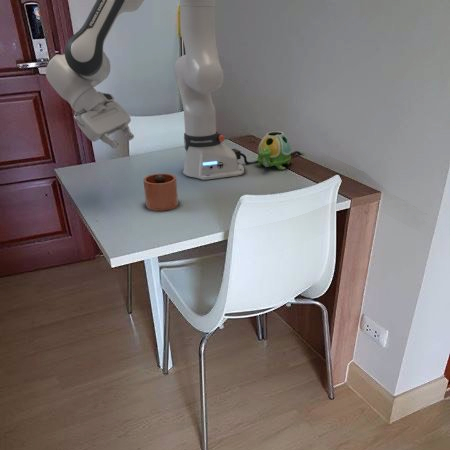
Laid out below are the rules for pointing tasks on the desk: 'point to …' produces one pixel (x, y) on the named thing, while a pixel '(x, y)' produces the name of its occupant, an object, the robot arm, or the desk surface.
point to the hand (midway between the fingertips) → (124, 142)
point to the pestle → (159, 179)
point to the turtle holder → (274, 150)
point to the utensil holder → (160, 193)
